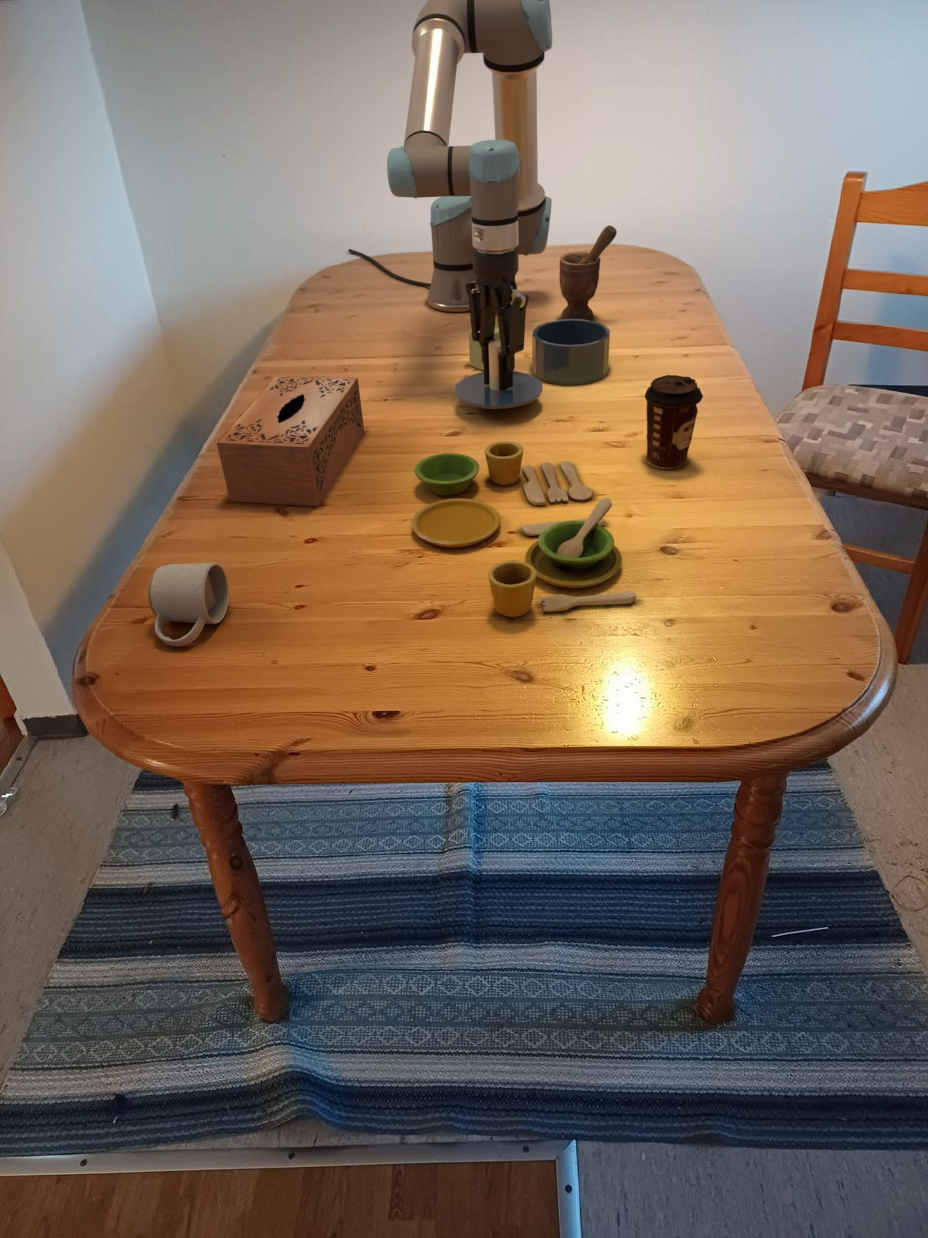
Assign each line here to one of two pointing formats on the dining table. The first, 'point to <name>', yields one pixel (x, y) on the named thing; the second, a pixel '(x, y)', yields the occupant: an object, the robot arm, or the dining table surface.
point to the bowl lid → (497, 386)
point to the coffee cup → (670, 420)
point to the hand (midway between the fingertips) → (498, 384)
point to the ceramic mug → (188, 597)
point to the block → (478, 350)
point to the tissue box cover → (292, 440)
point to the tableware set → (561, 549)
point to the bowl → (570, 351)
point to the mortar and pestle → (582, 277)
